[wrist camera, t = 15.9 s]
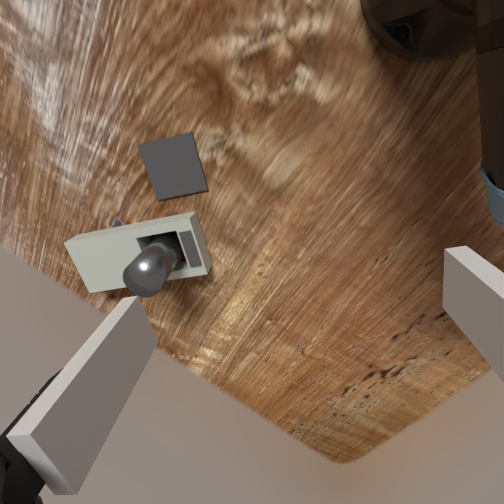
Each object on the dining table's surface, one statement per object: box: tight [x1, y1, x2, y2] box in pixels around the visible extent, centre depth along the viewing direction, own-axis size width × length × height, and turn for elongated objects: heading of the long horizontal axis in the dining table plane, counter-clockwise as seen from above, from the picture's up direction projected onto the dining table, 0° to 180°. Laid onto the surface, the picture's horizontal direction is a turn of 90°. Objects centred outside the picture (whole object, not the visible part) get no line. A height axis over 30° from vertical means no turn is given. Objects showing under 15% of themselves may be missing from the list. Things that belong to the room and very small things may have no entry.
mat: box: [138, 132, 208, 200], centre depth 38 cm, size 7×7×1 cm
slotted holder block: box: [64, 211, 212, 293], centre depth 42 cm, size 8×18×3 cm, turn 103°
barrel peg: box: [123, 231, 184, 297], centre depth 38 cm, size 4×4×10 cm
